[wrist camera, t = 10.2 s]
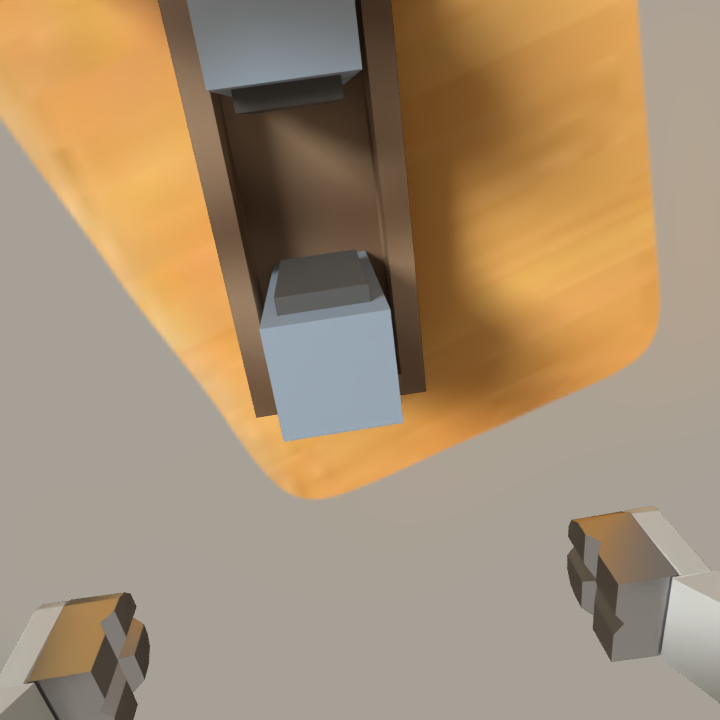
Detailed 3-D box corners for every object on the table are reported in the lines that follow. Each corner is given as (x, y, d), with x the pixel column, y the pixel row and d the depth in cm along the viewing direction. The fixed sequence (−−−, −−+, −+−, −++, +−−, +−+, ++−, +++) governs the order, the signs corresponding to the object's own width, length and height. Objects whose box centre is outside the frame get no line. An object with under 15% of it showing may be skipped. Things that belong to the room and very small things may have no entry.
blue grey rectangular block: (271, 250, 24) (255, 310, 17) (363, 237, 24) (388, 290, 17) (290, 349, 26) (283, 441, 18) (376, 336, 26) (403, 422, 19)
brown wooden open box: (169, -28, 20) (77, -125, 12) (371, -55, 21) (414, -167, 12) (262, 383, 27) (242, 497, 19) (412, 360, 28) (457, 463, 19)
